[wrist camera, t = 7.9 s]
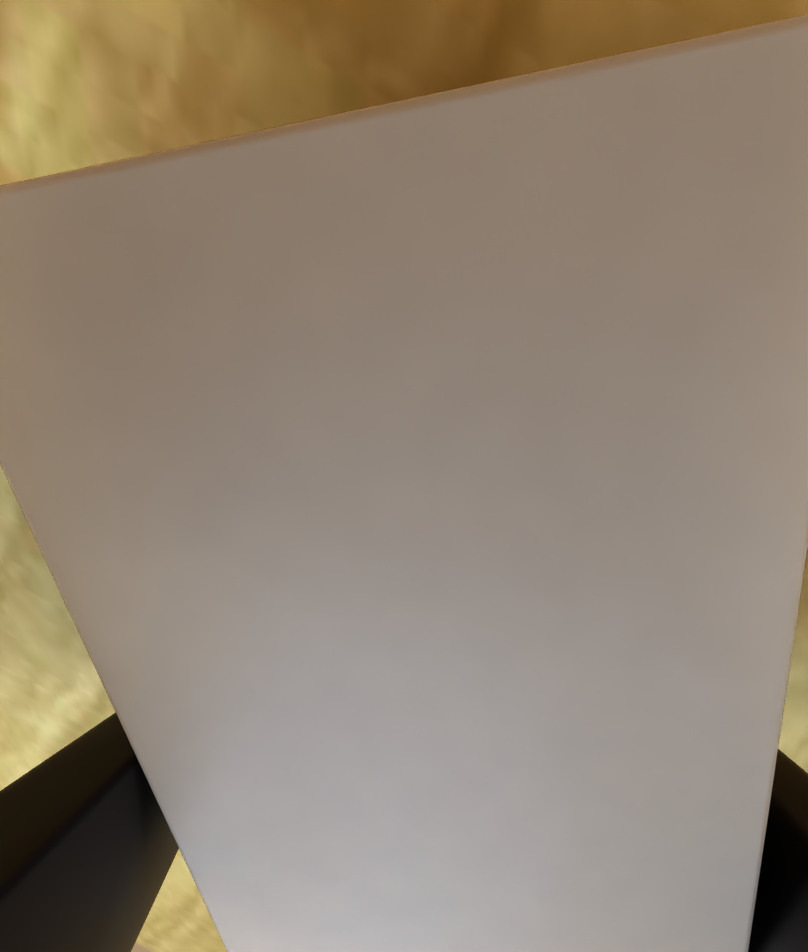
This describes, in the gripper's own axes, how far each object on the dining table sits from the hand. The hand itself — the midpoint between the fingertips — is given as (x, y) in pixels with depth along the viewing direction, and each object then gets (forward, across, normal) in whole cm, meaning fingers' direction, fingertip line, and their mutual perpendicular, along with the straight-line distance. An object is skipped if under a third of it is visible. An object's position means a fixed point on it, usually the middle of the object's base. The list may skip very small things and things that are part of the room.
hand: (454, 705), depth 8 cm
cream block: (0, 0, -2) cm, 2 cm away
